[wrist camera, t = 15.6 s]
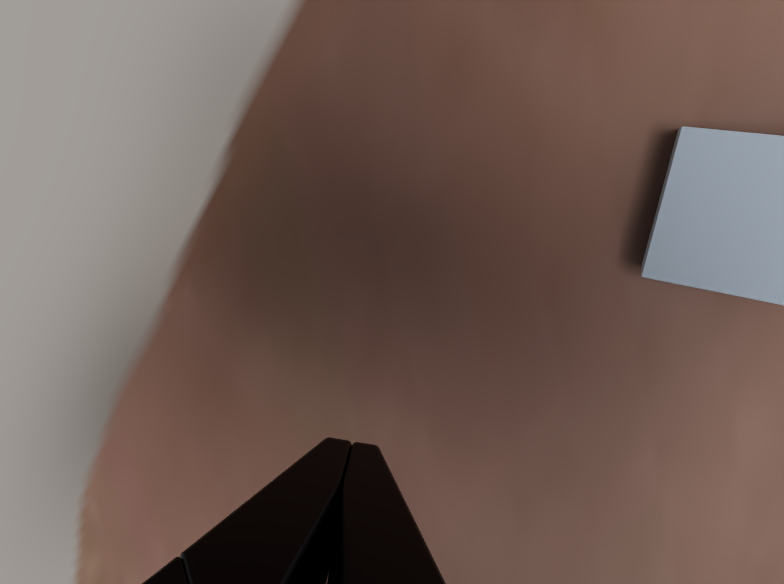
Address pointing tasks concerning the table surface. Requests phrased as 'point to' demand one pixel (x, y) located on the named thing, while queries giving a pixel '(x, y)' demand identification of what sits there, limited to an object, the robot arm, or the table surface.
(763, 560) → the table surface
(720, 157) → the domino
